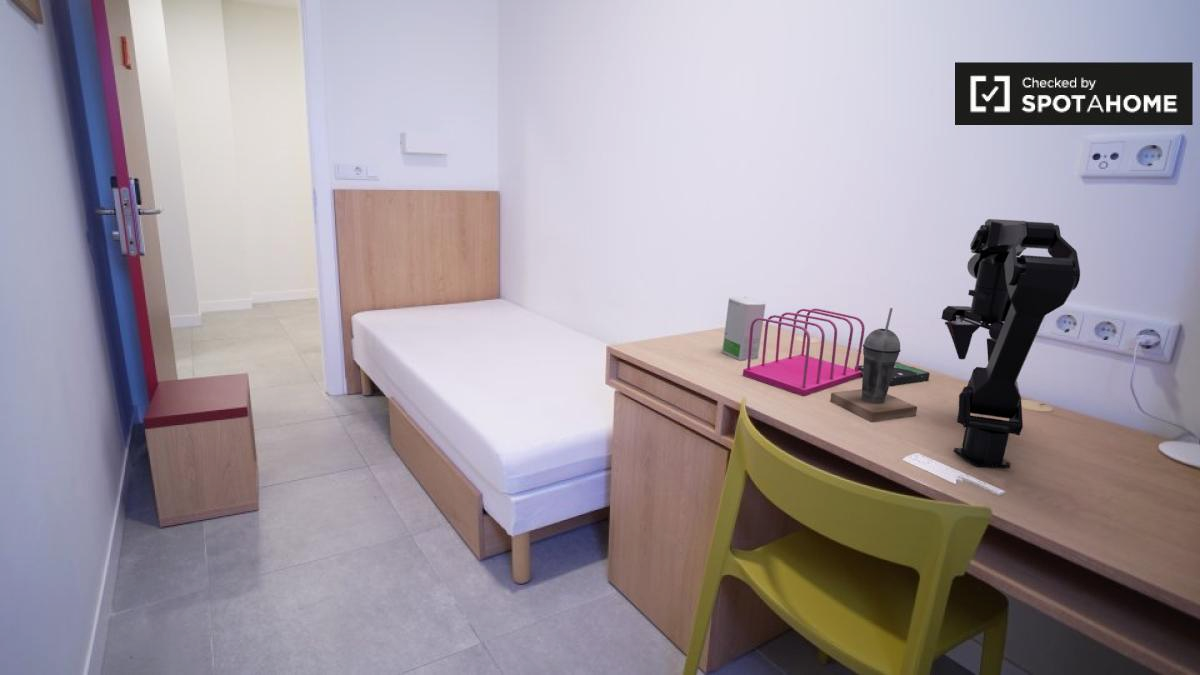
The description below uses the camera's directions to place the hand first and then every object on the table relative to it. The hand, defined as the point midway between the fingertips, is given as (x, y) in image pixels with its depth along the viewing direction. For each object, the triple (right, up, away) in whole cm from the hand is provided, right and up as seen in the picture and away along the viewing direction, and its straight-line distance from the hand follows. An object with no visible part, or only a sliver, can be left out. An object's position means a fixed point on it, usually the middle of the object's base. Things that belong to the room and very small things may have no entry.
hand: (976, 366), depth 118 cm
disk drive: (-1, -5, +34) cm, 34 cm away
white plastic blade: (-15, -18, -17) cm, 29 cm away
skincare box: (-35, 0, +48) cm, 59 cm away
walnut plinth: (-15, -10, +12) cm, 22 cm away
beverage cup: (-15, -8, +11) cm, 21 cm away
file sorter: (-23, -4, +32) cm, 40 cm away
